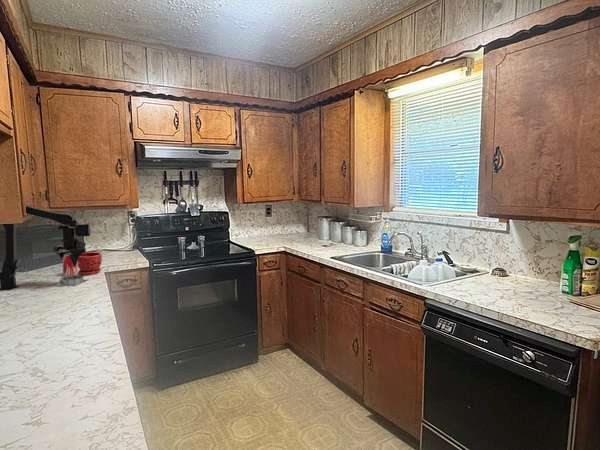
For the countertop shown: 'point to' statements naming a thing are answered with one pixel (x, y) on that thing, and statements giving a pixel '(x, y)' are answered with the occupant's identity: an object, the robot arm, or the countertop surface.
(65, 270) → the soda can
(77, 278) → the duct collar
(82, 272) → the plant pot
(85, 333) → the countertop surface
